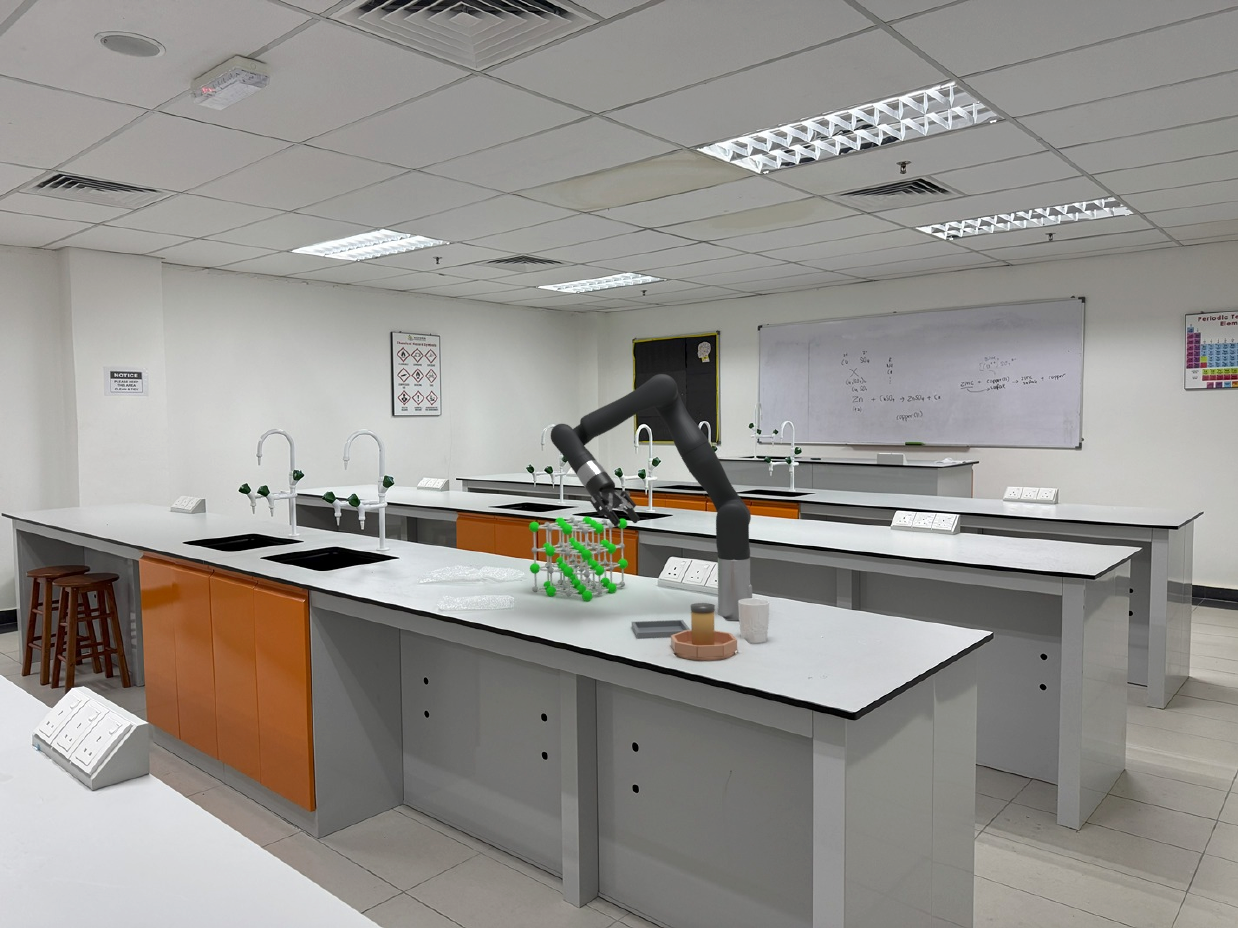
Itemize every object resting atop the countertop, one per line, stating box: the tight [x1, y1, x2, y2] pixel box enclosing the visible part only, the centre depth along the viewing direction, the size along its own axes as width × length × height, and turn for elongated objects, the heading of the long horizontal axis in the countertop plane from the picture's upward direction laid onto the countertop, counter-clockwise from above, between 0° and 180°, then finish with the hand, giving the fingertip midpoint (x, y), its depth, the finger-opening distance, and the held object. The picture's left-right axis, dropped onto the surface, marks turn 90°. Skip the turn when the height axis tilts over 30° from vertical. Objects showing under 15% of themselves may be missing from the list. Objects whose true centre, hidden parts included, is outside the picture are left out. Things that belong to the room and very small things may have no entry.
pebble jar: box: [690, 602, 716, 646], centre depth 200 cm, size 6×6×10 cm
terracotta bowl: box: [670, 629, 738, 662], centre depth 200 cm, size 15×15×4 cm
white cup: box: [738, 597, 770, 644], centre depth 211 cm, size 8×8×10 cm
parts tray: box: [631, 619, 691, 640], centre depth 217 cm, size 14×12×2 cm
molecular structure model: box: [528, 516, 629, 602], centre depth 275 cm, size 24×25×24 cm
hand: (627, 522), depth 226 cm, fingers open, 8 cm apart
